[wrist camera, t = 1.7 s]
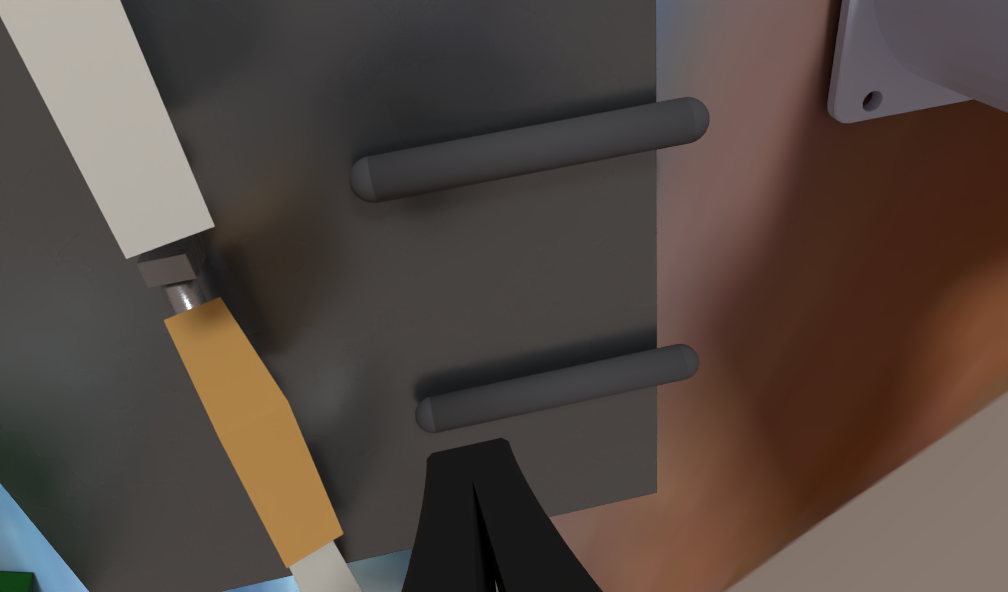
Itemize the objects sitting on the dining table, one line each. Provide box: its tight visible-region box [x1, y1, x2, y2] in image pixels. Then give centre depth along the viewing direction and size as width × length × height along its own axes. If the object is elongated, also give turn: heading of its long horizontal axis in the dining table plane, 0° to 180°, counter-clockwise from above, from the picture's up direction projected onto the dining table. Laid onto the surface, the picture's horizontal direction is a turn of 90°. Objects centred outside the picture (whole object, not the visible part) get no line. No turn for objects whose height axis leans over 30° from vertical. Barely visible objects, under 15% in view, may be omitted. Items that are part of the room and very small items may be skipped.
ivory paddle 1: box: [0, 0, 215, 259], centre depth 10 cm, size 1×4×4 cm, turn 7°
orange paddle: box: [164, 297, 343, 568], centre depth 14 cm, size 1×4×4 cm, turn 7°
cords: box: [349, 97, 709, 433], centre depth 17 cm, size 8×8×1 cm
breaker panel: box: [0, 0, 657, 592], centre depth 17 cm, size 18×20×3 cm
